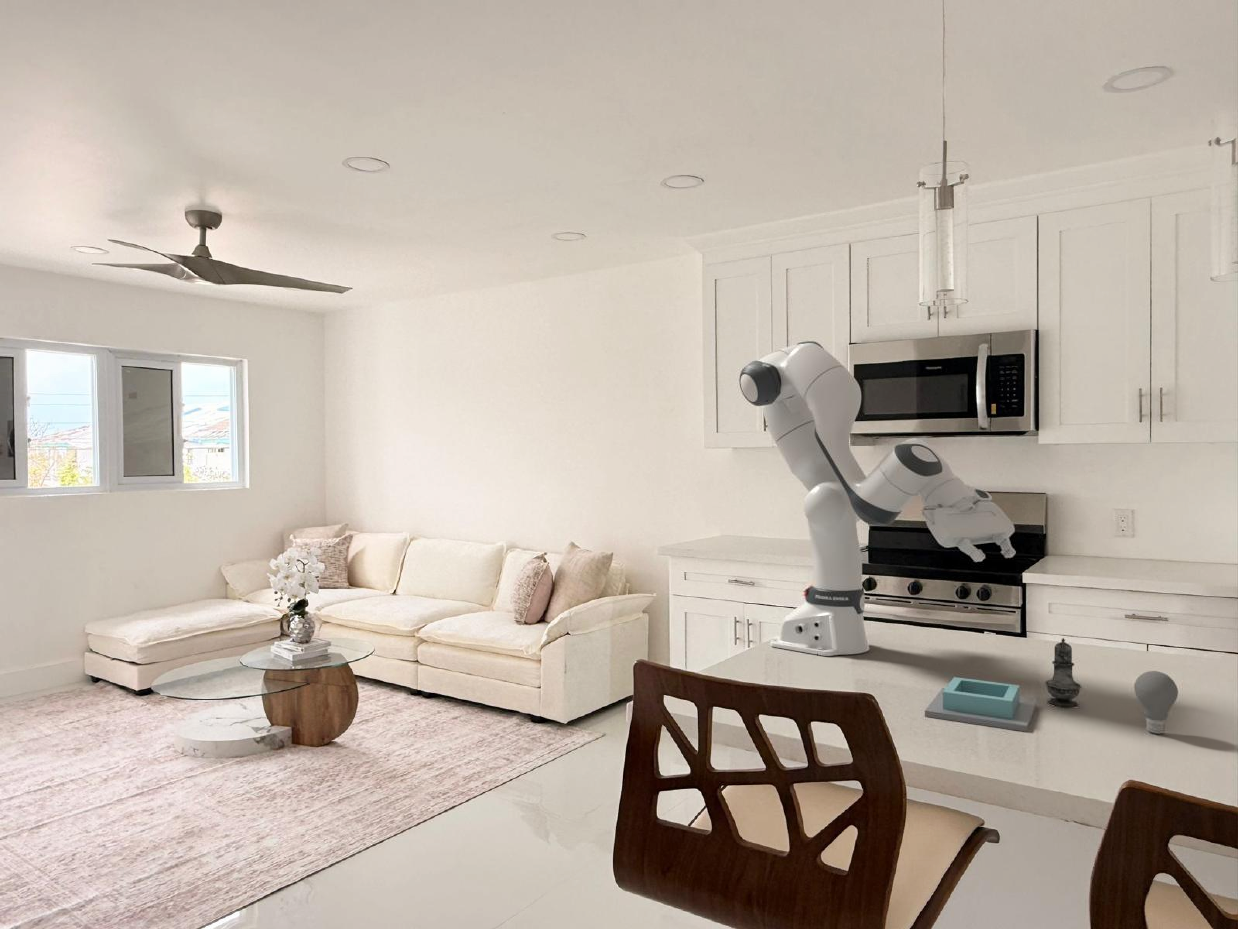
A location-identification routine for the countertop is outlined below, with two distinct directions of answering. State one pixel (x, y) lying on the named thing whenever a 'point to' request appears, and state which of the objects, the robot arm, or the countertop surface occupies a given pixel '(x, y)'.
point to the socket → (982, 704)
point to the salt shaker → (1063, 678)
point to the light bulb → (1155, 698)
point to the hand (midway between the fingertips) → (996, 557)
